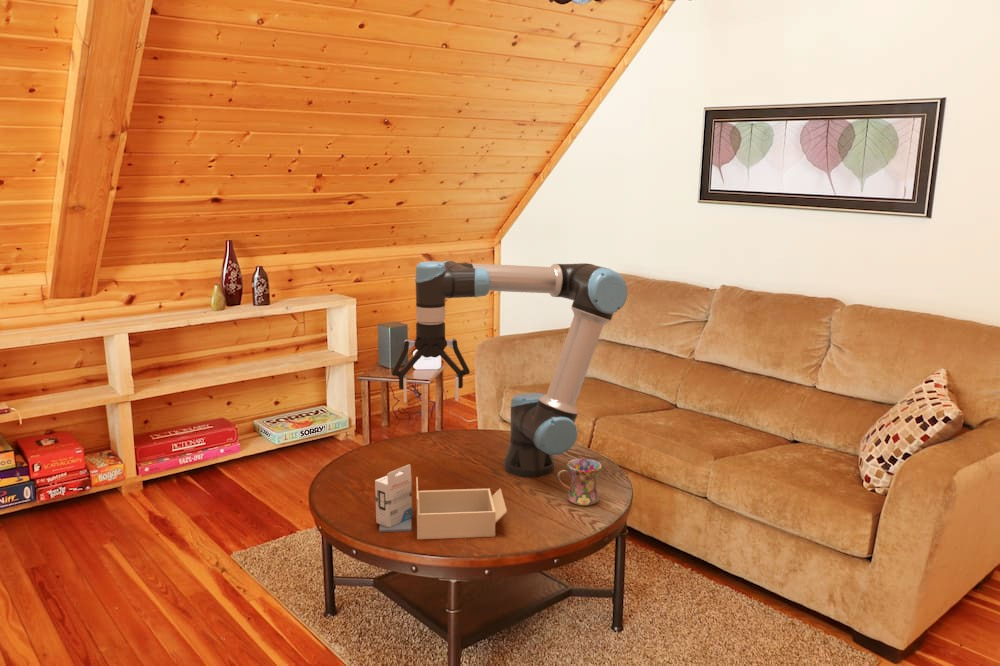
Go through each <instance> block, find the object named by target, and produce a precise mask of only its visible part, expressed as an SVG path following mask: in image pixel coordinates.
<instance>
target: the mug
mask: <svg viewBox="0 0 1000 666" xmlns="http://www.w3.org/2000/svg"><path fill="white" fill-rule="evenodd" d="M566 465H567V469H568V470H566V469H561V470H559V471H558V473H557V479H558V481H559V483H561V485H562V486H563V487H565V488H567V489H568V490H567V492H568V494H567V499H568V501H569V502H571V503H572V504H575V505H579V506H592V505H594V504H596V503H598V502H599V500H600V499H599V498H600V497H599V496H598V491H597V481H598V480H597V479H598V477H599V473H600V471H601V469H602V467H603V466H602V464H601V463H600V462H599V461H597V460H595V459H592V458H591V459H590V458H574V459H571V460H569V461H568V462H567V464H566ZM564 472H565V473H567V474H568V476H569V478H570V479H571V480H570V481H571V483H570V484H571V486H568V485H567V484H565V482H563V481H562V480H561V478H560V474H562V473H564Z"/></svg>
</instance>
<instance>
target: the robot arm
mask: <svg viewBox="0 0 1000 666" xmlns="http://www.w3.org/2000/svg"><path fill="white" fill-rule="evenodd" d="M414 281H415V301H416V302H415V320H416V321H417V322H416V323H415V336H416V338H415V340H409V339H408V338H406V339H404V343H403V348H402V350H401V351H400V354H399V356H398V358H397V360H396V362H395V363H394V366H393V368H392V369H391V370H392V371H391V375H392V376H395V377H397V378H398V388H399V390H403V403H407V402H408V401H407V397H408V396H407V373H408V372H409V371H410V370H411V369H412V367H413V366H414V365H415V364H416V363H417V362H418V360H420V359H421V357H424V358H438V357H441V359H443V360H444V361H445V362H446V364H447V365H448V366H449V367H450V368H451V369H452V371H453V372H454V373H456V374H454V379H455V380H454V400H455V402H459V389H463V385H464V384H463V383H464V379H463V378H464V376H466V375H470V373H471V372H470V369H469V368H470V367H468V365H467V362H466V361H465V359H464V356H463V355H462V353H461V351H460V349H459V346H458V341H457V339H456V338H452V339H450V340H446V323H445V322H444V321H445V320H446V299H456V298H457V299H460V298H479V297H486V296H487V295H489V292H507V293H509V292H510V293H530V294H531V293H532V294H535V293H537V294H549V295H550V296H551V297H553V298H563V299H567V300H571V301H572V305H571V310H572V312H573V317H572V320H571V324H570V326H569V329H568V332H567V335H566V338H565V340H564V344H563V346H562V350H561V351H560V355H559V358H558V360H557V363H556V367H555V370H554V372H553V375H552V377H551V380H550V384H549V386H548V389H547V393H544V392H543V393H542V392H541V393H540V392H525V393H519V394H516V395H513V396H512V397H511V399H510V400H511V403H510V406H509V408H510V435H509V437H510V439H509V440H510V442H509V446H508V449H507V452H506V454H505V458H504V461H503V468H504V471H506V472H507V473H509V474H510V475H512V476H513V475H514V476H516V477H517V476H518V477H525V478H538V477H544V476H547V475H549V474H551V473H553V472H554V471H555V460H554V456H559V455H563V454H564V453H566V452H568V451H569V450H570V449H571V448H572V447H573V446H574V445H575V443H576V441H577V439H578V435H579V434H578V428H577V424H576V419H577V417H578V414H579V411H578V408H577V407H576V403H577V400H578V397H579V395H580V392H581V389H582V388H583V387H582V386H583V383H584V381H585V378H586V376H587V372H588V370H589V367H590V364H591V362H592V358H593V355H594V352H595V350H596V347H597V344H598V341H599V338H600V336H601V332H602V330H603V327H604V325H606V324H608V323H610V322H611V321H612V318H613V317H614V316H613V315H614V313H617V312H618V311H619V310H621V309H623V307H624V306H625V304H626V302H627V299H628V292H629V291H628V286H627V283H626V280H625V278H624V277H623V276H622V275H621V274H620V273H619V272H617V271H615V270H612V268H607V267H604V266H599V265H595V264H592V263H587V262H586V263H585V262H584V263H583V262H582V263H553V264H552V265H551V266H536V265H534V266H533V265H517V264H516V265H513V264H512V265H511V264H493V263H492V264H491V263H473V262H472V263H471V262H469V263H467V262H455V261H453V260H444V261H432V260H431V261H429V260H428V261H421V262H419V263H418V264H416V267H415V279H414ZM447 346H449V348H450V349H452V350H453V352H454V354H455V356H456V358H457V359H458V362H459V364H460V366H461V368H462V369H461V368H460V367H459V366H458V365H457V364H456V363H455V361H454V360H453V359H452V358H451V357H450V356H449V355H448V353H447V352H446V351H445V348H447ZM413 347H415V349H416V350H417V351H416V352H415V353H414V354H413V356H412V357H411V358H410V359H409V361H407V363H406V364H405V365H404V366H403V367H402V368H401V366H402V364H403V362H404V360H405V358H406V356H407V354H408V351H409V350H411V349H412V348H413Z"/></svg>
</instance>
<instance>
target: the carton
mask: <svg viewBox="0 0 1000 666" xmlns="http://www.w3.org/2000/svg"><path fill="white" fill-rule="evenodd" d="M418 477H419V476H416V486H415V487H416V539H417V540H434V539H460V538H461V539H462V538H463V539H464V538H486V537H487V538H489V537H490V538H491V537H496V523H497V522H499V520H500V519H502V518H503V516H505V515H506V514H507V513H508V509H507V506H506V502H505V499H504V496H503V493H502V492H503V491H502V488H499V489H498V490H496V491H495V493H494V494H492V492H491V488H466V489H465V488H463V489H461V488H460V489H456V488H455V489H430V490H427V489H426V490H419V482H418Z"/></svg>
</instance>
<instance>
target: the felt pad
mask: <svg viewBox="0 0 1000 666" xmlns="http://www.w3.org/2000/svg"><path fill="white" fill-rule="evenodd" d="M378 528H379V529H378V531H379V532H378V533H396V532H398V533H401V532H403V533H404V532H412V517H411V518H409V519H407V520H405V521H403V522H400V523H398V524H396V525H394V526H392V527H390V528H388V527H386V526H383V525H381V524H379V527H378Z"/></svg>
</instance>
